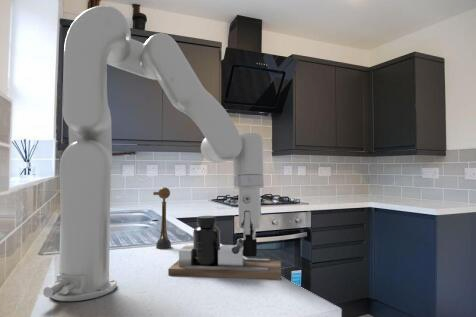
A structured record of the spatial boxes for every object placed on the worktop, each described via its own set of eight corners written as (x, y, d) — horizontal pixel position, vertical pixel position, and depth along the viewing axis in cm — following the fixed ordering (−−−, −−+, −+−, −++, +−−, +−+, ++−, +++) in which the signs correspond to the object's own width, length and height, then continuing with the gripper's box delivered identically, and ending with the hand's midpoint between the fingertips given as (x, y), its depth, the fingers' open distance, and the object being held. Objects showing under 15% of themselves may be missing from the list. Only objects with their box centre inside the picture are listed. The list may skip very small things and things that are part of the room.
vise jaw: (241, 270, 75) (241, 247, 75) (216, 269, 76) (216, 246, 76) (246, 258, 86) (245, 238, 86) (223, 257, 86) (223, 237, 87)
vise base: (281, 279, 74) (280, 255, 74) (168, 275, 77) (168, 252, 78) (280, 267, 84) (280, 245, 84) (180, 263, 87) (180, 243, 88)
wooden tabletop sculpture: (151, 249, 104) (152, 187, 105) (154, 246, 109) (154, 187, 110) (170, 248, 105) (170, 187, 106) (171, 245, 109) (172, 186, 110)
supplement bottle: (208, 259, 86) (209, 214, 87) (225, 264, 81) (225, 216, 82) (187, 264, 81) (188, 216, 82) (204, 269, 76) (204, 219, 77)
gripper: (261, 182, 73) (263, 264, 72) (265, 180, 88) (266, 248, 87) (229, 183, 74) (230, 263, 73) (237, 181, 89) (239, 248, 88)
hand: (250, 255), depth 80 cm, fingers closed
